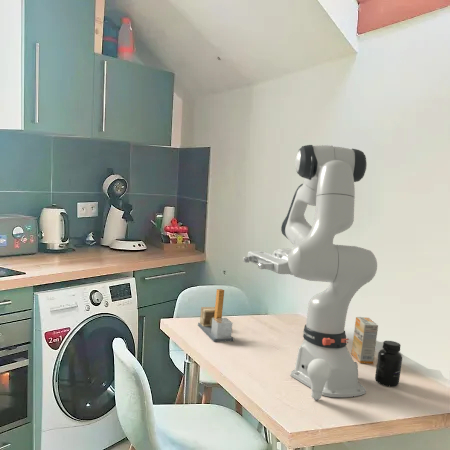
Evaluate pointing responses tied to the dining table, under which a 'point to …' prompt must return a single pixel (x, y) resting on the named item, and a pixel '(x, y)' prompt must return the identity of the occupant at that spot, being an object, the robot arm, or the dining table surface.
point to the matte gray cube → (221, 328)
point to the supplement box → (364, 340)
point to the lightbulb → (318, 376)
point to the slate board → (208, 331)
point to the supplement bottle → (389, 364)
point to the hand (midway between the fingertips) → (251, 263)
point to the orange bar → (218, 304)
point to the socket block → (206, 315)
